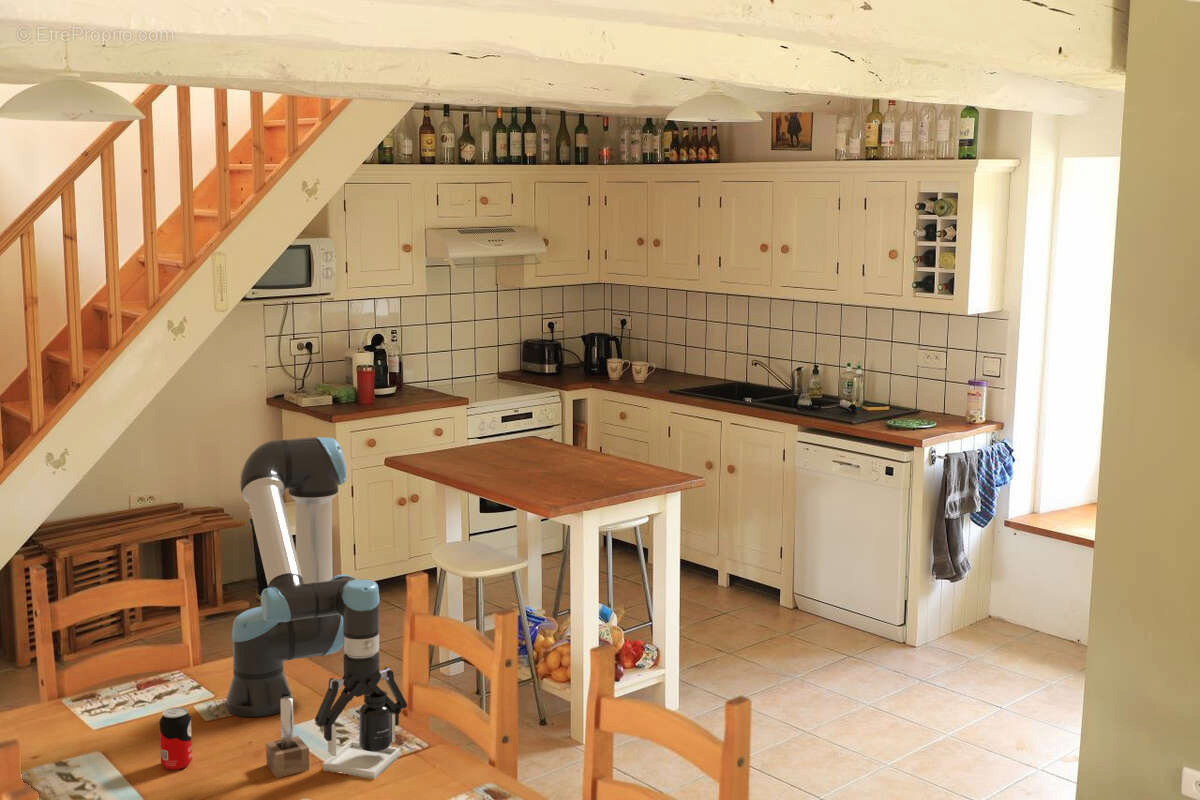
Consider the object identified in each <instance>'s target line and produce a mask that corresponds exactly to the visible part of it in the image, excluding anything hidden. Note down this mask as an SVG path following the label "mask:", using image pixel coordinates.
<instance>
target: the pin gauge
mask: <svg viewBox="0 0 1200 800" xmlns="http://www.w3.org/2000/svg"><path fill="white" fill-rule="evenodd" d="M294 728H295V727H294V697H293V696H292V695H291V696H285V697H282V698H281V712H280V740H281V750H286V749H291V748H294V737H295V735H294V734H295V733H294Z"/></svg>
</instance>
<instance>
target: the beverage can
mask: <svg viewBox="0 0 1200 800" xmlns="http://www.w3.org/2000/svg"><path fill="white" fill-rule="evenodd" d="M159 742H160V743H159V747H160V749H159V750H160V764H161V766H162V767H163V768H165V769H167V770H169V771H177V770H182V769H185V768H186V767H188V766H189V764H190V763H191V762H192V760H193V748H192V747H193V745H192V719H191V715H190V714H189V713H188V709H187V708H186V707H182V706H181V707H180V706H178V707H177V706H176V707H170V708H167V709H165V710H163V711H162V715H161V717H160V719H159Z"/></svg>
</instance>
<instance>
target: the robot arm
mask: <svg viewBox="0 0 1200 800" xmlns="http://www.w3.org/2000/svg"><path fill="white" fill-rule="evenodd" d="M343 453H344V452H343V450H342V448H341V446H340V444H339V442H338V441H337V440H336V439H335V438H333V437H319V436H316V437H314V436H313V437H304V438H303V437H302V438H291V439H290V438H289V439H274V440H273V439H272V440H270V441H266V442H264V443H263V444H261V445H259V446H258V447H257V448H255V449H254V450H253V452H251V453H250V455H249V456H248V458H247V459H246V461H245V463H244V464H243V468H242V470H241V472H240V473H241V474H240V480H239V481H240V483H239V484H240V485H239V487H240V490H241V491H240V492H241V495H242V499H243V500H244V502H246V503H247V504H248V506H249V511H250V515H251V519H252V524H253V528H254V532H255V536H256V541H257V545H258V546H257V547H258V549H259V553H260V558H261V562H262V566H263V570H264V571H263V572H264V574H265V575H264V576H265V580H266V583H267V588H264V589H262V592H261V594H260V606H257V607H253V608H250V609H247V610H245V611H243V612H241V613H240V614H238V615H237V616H236V617H235V618H234V620H233V622H232V632H231V633H232V634H231V640H232V657H233V658H232V661H233V662H232V664H233V665H232V666H233V669H232V670H233V677H232V681H231V684H230V686H229V689H228V692H227V695H226V709H227V710H226V711H228V712H229V713H230V714H232V715H235V716H238V717H244V718H256V717H257V718H258V717H259V718H260V717H267V716H271V715H272V716H273V715H275V714H276V715H277V714H279V713H281V698H282V697H285V696H291V697H292V691H291V689H290V686H289V683H288V679H287V678H286V675H285V671H284V662H285V661H293V660H299V659H305V658H314V657H324V656H327V655H332V654H335V653H339V652H340V651H341V650H342V648H343V650H342V652H343V653H344V654H343V676H342V678H339V679H335V678H333V677H331V678H329V680H328V688H327V691H326V692H325V695H324V698H323V699H322V702H321V704H320V707H319V708H318V711H317V713H316V716H315V717H314V722H315V723H316V724H317V726H319V727H323V738H324V740H325V741H326V742H327V752H328V753H329V754H330V755H331V756H336V752H337V733H336V732H337V728H336V725H335V722H336V720H338V718H339V716H340V715H341V714H342V712H343V711H344V709H345V708H346V707H347V705H348V704H349V702H351V701H352V700H353V699H354V698H355V697H356V698H358V697H362V696H364V695H369V694H370V693H371V692H372V691H374V692H375V693H376V694H377V695H382V694H385V693H384V692H383V691H384V690H383V689H381V688H380V686H378V684H379V682H380V680H381V678H382V679H383V680H384V681H385V682H386V684H387V685H388V687H389V690H390V691H391V693H392V695H393V697H394V698H395V701H396V702H394V701H393V700H392V699H391V698H390V696H388V695H387V702H386V704H388V705H389V706H390V707H391V744H392V743H395V742H396V727H397V726H399V724H400V714H401V712H402V710H403V709H406V708H407V707H408V703H407V701H406V700H405V697H404V695H403V693H402V691H401V690H400V688H399V687H398V684H397V682H396V681H395V674H394V671H393V670H392V669H390V667H388V666H386V667H385V668H383V670H380V653H379V651H380V601H381V600H380V599H381V598H380V596H381V595H380V593H379V592H380V591H379V590H380V589H379V585H378V583H377V582H375V581H374V580H371V579H365V578H363V579H360V578H359V579H356V578H354V577H352V576H351V575H349V574H345V573H343V574H337V575H335V576H333V510H332V509H333V508H332V507H333V504H332V503H333V501H332V500H333V499H334V498H335V497H336V496H337V495H338V494H339V486H342V485H344V484H345V482H346V479H347V468H346V467H347V466H346V462H345V457H344V454H343ZM287 489H288V495H289V496H290V498H292V499H293V500H294V502H295V504H294V505H295V507H294V508H295V509H294V510H295V542H294V538H293V535H292V530H291V526H290V522H289V518H288V515H287V510H286V505H285V502H284V499H283V495H284V493H285V490H287ZM342 686H344V688H343V689H342V690H341V687H342ZM339 690H341V693H340V695H339V696H338V698H337V695H338V692H339ZM382 690H383V691H382ZM336 698H337V700H336ZM335 700H336V701H335ZM334 702H335V703H334Z"/></svg>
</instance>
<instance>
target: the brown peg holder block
mask: <svg viewBox="0 0 1200 800" xmlns="http://www.w3.org/2000/svg"><path fill="white" fill-rule="evenodd" d="M265 744H266V745H265V750H266V753H265V756H266V766H267V767H268V768H269V770H270V771H271V772H272V774H273V775H274V776H275V777H276V778H282V777H285V776H290V775H294V774H298V773H302V772H306V771H310V747H309V746H308V745H307V744H306V743H305V742H304V741H303V739H302V738H301V737H300V736H299V735H296V736H295V735H294V748H291V749H286V750H281V739H276V740H273V741H269V742H266V743H265Z"/></svg>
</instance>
